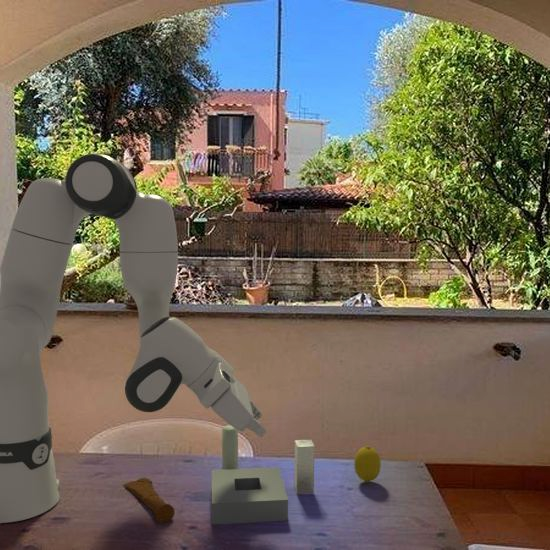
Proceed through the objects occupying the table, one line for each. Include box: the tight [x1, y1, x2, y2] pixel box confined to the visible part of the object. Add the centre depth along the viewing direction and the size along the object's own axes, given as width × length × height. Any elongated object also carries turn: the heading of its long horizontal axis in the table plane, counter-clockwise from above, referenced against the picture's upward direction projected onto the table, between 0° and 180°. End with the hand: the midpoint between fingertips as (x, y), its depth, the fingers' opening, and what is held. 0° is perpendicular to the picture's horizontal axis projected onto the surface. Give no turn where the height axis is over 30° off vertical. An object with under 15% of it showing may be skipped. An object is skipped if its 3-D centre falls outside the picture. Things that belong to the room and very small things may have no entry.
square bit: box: [293, 439, 315, 495], centre depth 111 cm, size 4×4×10 cm
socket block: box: [211, 466, 289, 526], centre depth 106 cm, size 14×14×4 cm
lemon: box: [354, 445, 382, 483], centre depth 115 cm, size 6×6×8 cm
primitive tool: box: [123, 477, 175, 524], centre depth 107 cm, size 19×6×4 cm, turn 34°
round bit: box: [221, 424, 239, 470], centre depth 120 cm, size 4×4×10 cm
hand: (261, 424), depth 110 cm, fingers open, 8 cm apart
